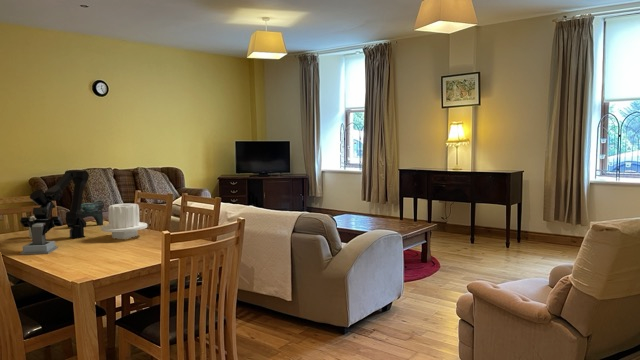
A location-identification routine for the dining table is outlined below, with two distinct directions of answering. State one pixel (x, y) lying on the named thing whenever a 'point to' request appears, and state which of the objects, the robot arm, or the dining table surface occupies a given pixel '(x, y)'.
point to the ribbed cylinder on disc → (123, 221)
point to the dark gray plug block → (38, 234)
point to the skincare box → (30, 228)
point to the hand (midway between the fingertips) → (37, 235)
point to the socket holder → (39, 248)
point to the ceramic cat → (93, 210)
